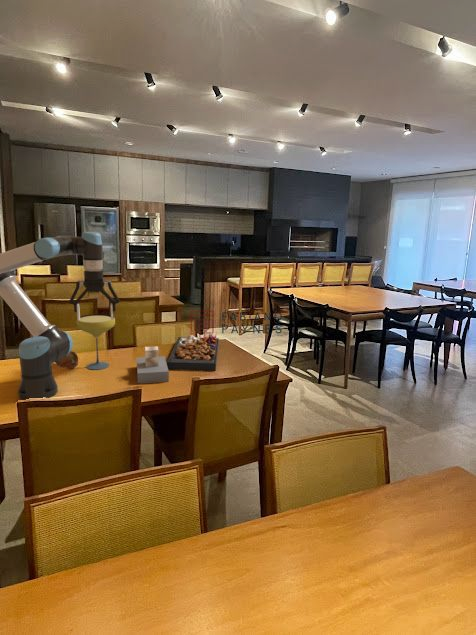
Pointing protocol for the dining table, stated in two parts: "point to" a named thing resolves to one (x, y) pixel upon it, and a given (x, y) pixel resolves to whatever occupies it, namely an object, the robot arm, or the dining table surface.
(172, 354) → the food platter
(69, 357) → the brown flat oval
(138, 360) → the slate block
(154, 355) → the cream block
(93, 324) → the cocktail glass
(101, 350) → the dining table surface
